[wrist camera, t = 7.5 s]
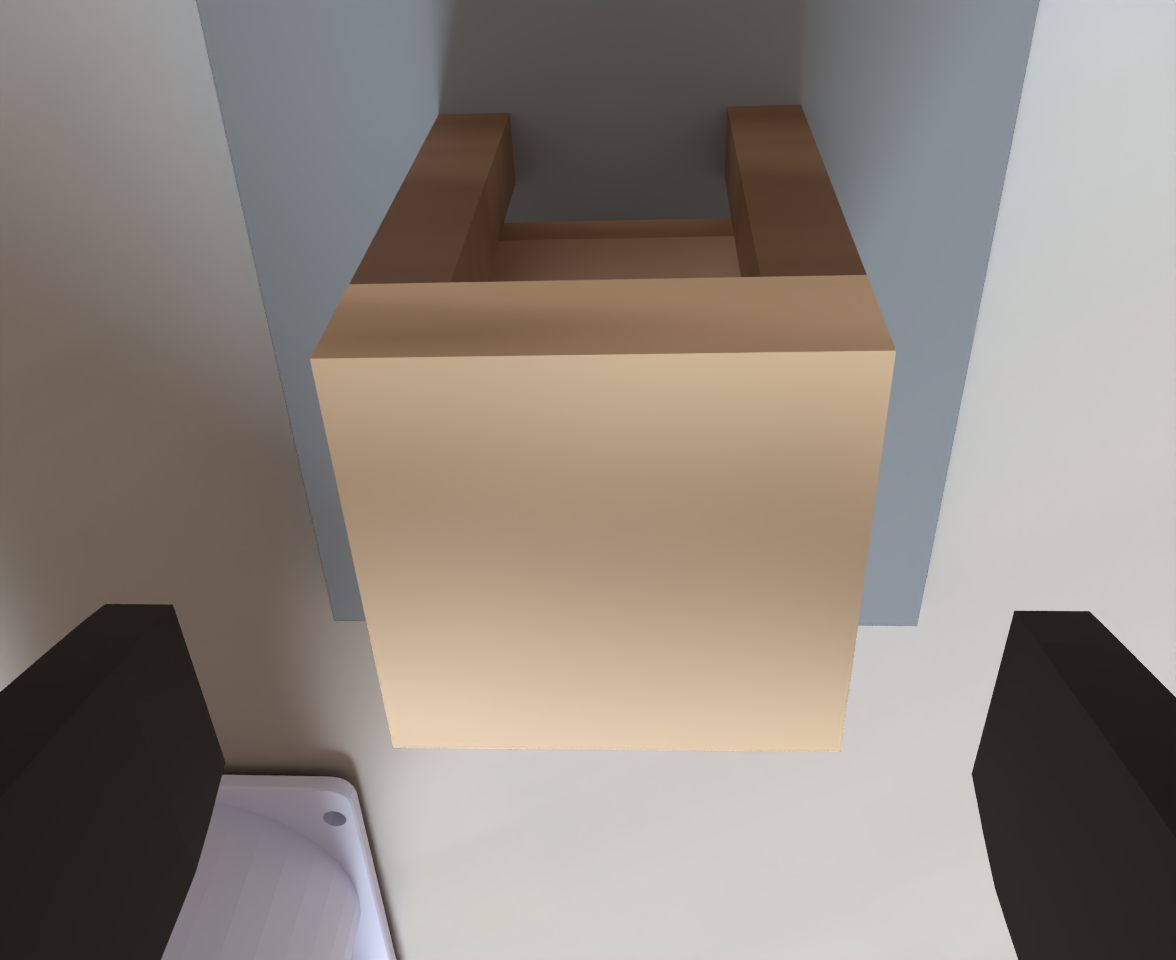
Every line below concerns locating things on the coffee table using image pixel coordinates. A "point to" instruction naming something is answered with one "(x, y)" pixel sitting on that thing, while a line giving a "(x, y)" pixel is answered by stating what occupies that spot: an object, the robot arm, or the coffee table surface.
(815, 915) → the coffee table surface
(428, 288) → the stool
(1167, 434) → the coffee table surface
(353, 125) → the slate mat
